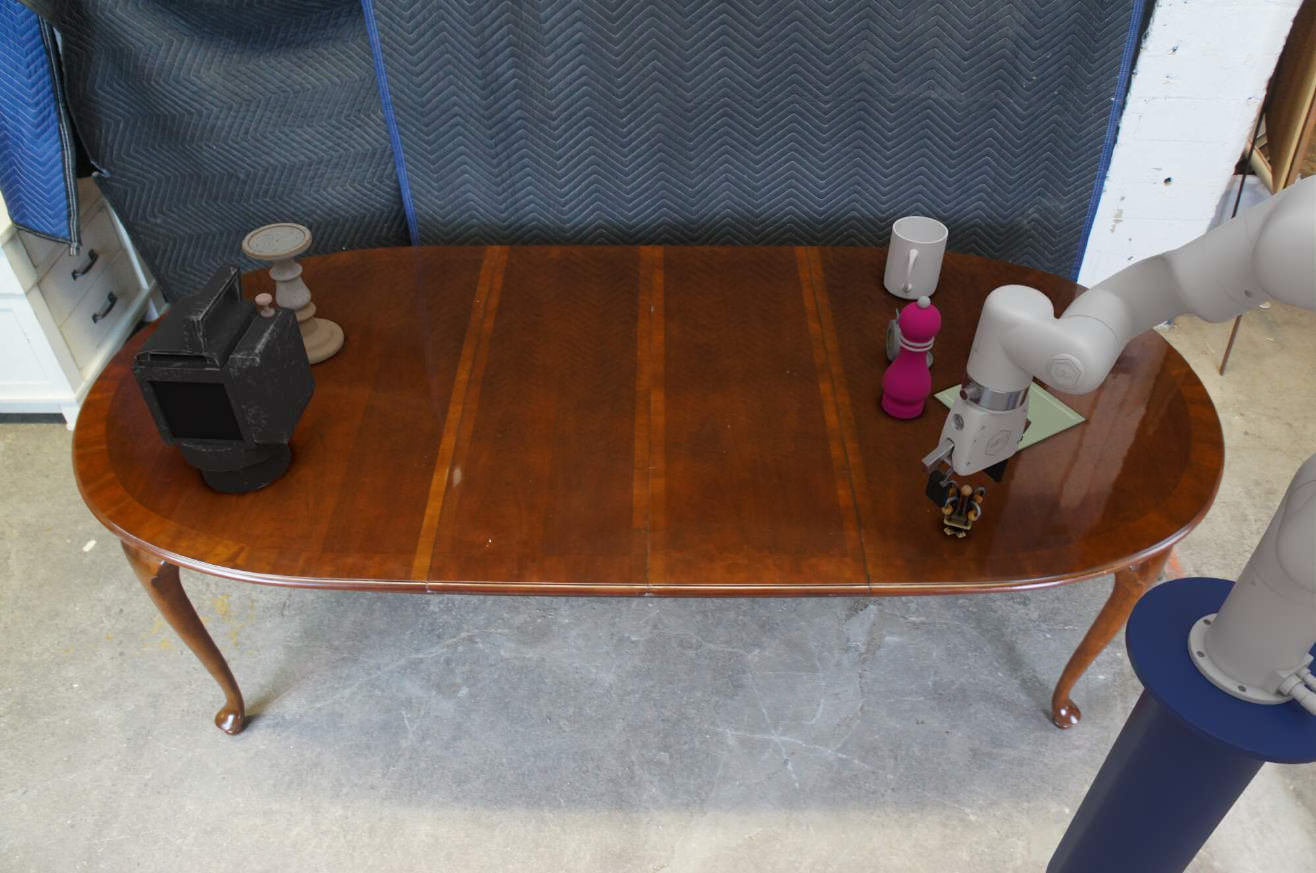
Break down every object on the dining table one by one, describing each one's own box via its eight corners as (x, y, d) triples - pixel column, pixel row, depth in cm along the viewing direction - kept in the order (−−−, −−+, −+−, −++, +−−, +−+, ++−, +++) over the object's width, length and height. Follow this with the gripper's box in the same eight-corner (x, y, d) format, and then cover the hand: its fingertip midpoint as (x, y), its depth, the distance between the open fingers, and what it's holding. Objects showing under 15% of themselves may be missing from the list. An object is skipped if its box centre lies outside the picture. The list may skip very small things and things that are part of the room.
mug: (932, 274, 182) (944, 217, 174) (940, 310, 173) (953, 252, 165) (881, 272, 182) (890, 215, 175) (885, 307, 173) (896, 249, 166)
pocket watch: (940, 365, 161) (952, 314, 154) (901, 382, 157) (912, 330, 151) (905, 341, 166) (915, 290, 159) (867, 356, 162) (876, 305, 156)
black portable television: (217, 428, 149) (150, 254, 129) (333, 432, 148) (284, 258, 128) (174, 497, 137) (94, 318, 118) (299, 503, 137) (240, 323, 117)
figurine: (930, 535, 132) (948, 493, 126) (936, 511, 135) (953, 469, 130) (966, 547, 131) (985, 504, 125) (971, 522, 134) (990, 480, 129)
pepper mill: (874, 415, 151) (895, 305, 138) (882, 388, 156) (902, 279, 143) (922, 425, 149) (948, 314, 136) (928, 397, 154) (953, 288, 141)
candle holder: (353, 324, 169) (327, 219, 156) (333, 367, 160) (304, 259, 147) (282, 324, 170) (250, 218, 156) (258, 366, 160) (222, 258, 147)
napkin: (1085, 420, 150) (1085, 419, 150) (1007, 455, 144) (1008, 453, 144) (1008, 366, 160) (1009, 364, 160) (933, 396, 154) (934, 394, 154)
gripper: (962, 426, 111) (932, 529, 122) (1071, 380, 118) (1032, 483, 129) (918, 389, 116) (892, 492, 127) (1025, 347, 122) (991, 449, 134)
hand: (963, 487), depth 128 cm, fingers open, 9 cm apart
